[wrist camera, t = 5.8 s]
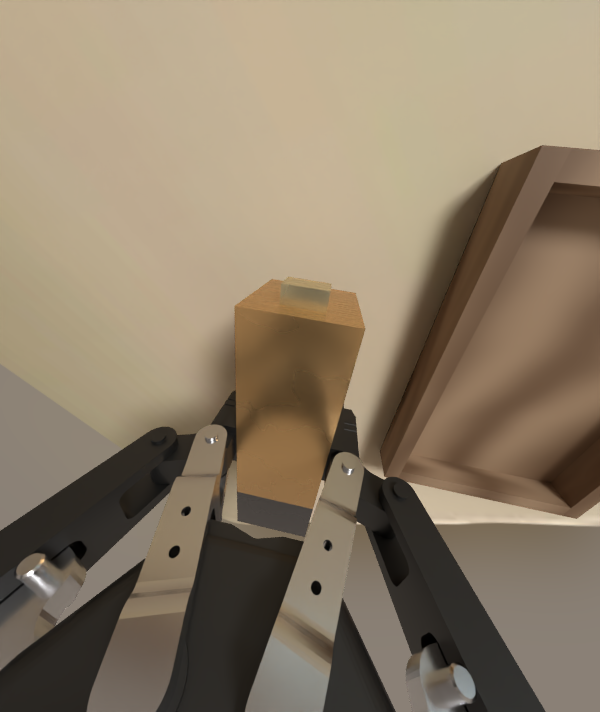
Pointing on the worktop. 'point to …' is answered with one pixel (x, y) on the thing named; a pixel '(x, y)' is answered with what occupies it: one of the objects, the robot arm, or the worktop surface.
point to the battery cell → (290, 395)
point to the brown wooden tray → (515, 349)
